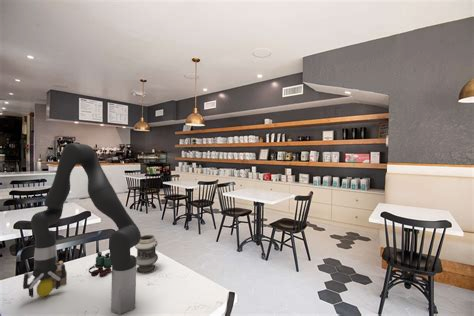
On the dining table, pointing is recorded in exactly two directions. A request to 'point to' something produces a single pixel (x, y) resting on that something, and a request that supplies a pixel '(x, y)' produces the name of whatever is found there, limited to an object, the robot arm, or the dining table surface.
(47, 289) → the lemon
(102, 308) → the dining table surface
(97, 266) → the binoculars
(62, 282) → the wooden crate
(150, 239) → the apothecary jar
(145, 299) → the dining table surface
